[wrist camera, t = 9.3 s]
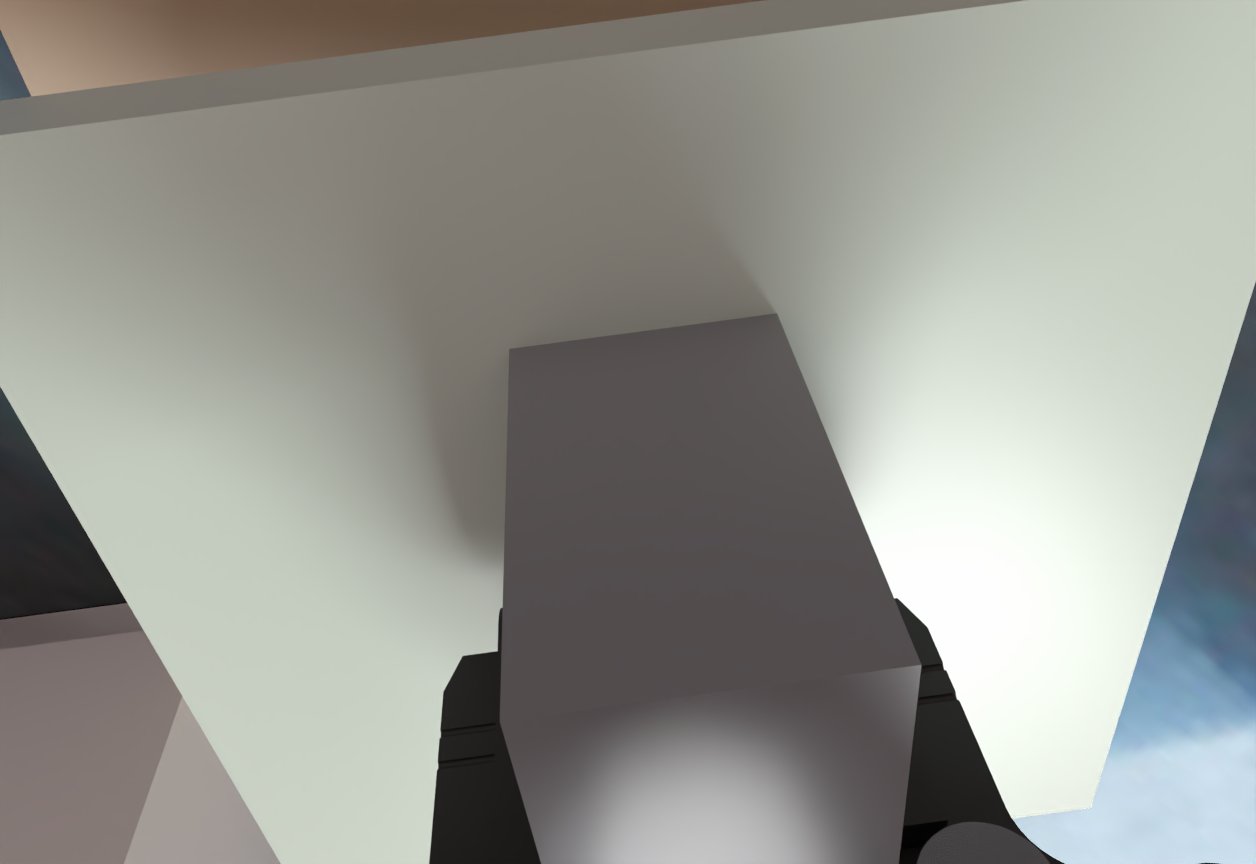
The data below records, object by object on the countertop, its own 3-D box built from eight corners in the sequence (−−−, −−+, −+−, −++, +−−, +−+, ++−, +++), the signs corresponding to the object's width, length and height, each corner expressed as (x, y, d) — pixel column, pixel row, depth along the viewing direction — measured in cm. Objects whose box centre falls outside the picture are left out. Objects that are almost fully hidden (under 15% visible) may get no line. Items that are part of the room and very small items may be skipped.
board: (-52, -164, 14) (-87, -156, 14) (1167, -324, 14) (1205, -325, 14) (312, 651, 25) (304, 682, 24) (1010, 558, 25) (1025, 586, 24)
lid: (-39, 85, 11) (-656, 505, 5) (1234, -81, 11) (1996, 153, 5) (328, 812, 19) (246, 1273, 14) (1043, 715, 19) (1256, 1134, 14)
